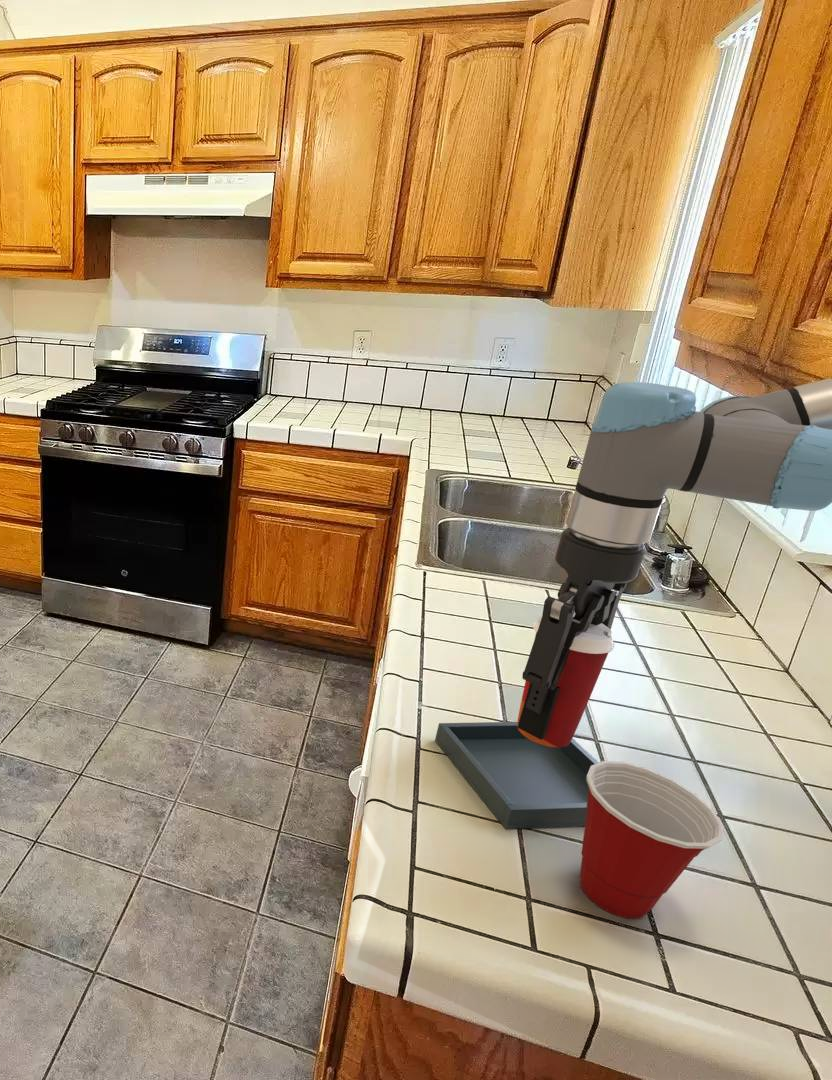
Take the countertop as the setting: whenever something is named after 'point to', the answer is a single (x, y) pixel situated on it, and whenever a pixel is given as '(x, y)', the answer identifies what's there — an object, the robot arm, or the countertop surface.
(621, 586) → the robot arm
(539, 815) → the tray
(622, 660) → the countertop surface
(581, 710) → the paper cup
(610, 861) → the plastic cup
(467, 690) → the countertop surface
